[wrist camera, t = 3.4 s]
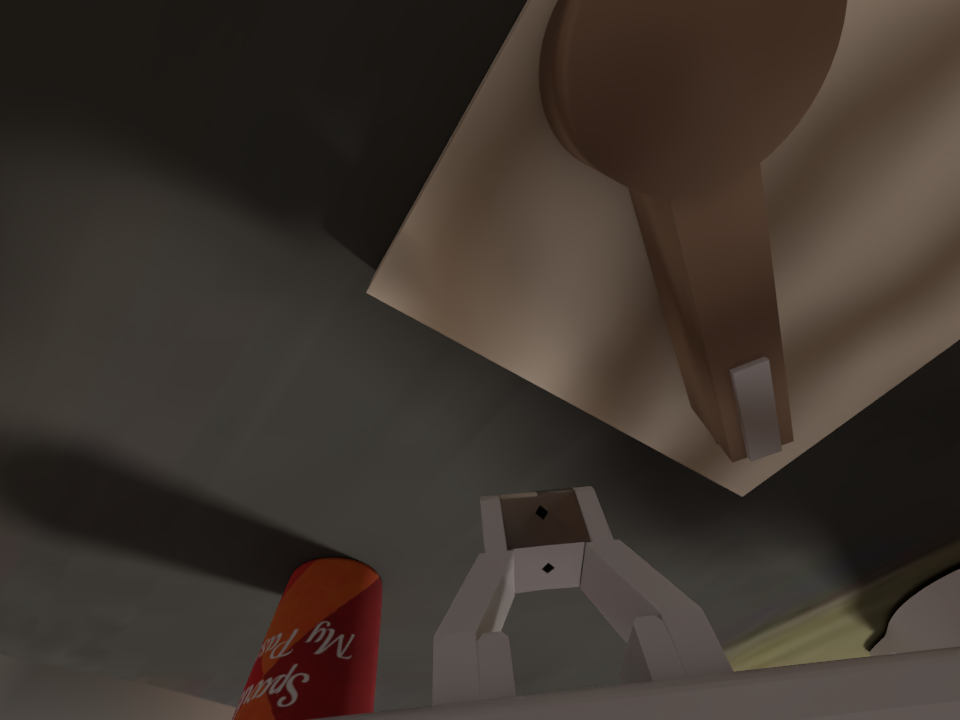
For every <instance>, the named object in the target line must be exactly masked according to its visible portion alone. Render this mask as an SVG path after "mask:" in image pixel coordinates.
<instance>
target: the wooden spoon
mask: <svg viewBox="0 0 960 720" xmlns="http://www.w3.org/2000/svg"><path fill="white" fill-rule="evenodd" d="M846 7H847V0H558V1H557V3H556V5H555V7H554V9H553V11H552V14H551V16H550V19H549V21H548V24H547V27H546V31H545V34H544V38H543V41H542V47H541V53H540V61H539V89H540V95H541V101H542V106H543V109H544V112H545V116H546V118H547V121H548V123H549V125H550V128H551V130H552V131H553V133H554V135H555V136H556V138H557V140H558V141H559V142H560V143H561V145H562V146H563V147H564V148H565V149H566V150H567V151H568V152H569V153H570V154H571V155H572V156H573V157H575V158H576V159H578V160H579V161H581V162H582V163H584V164H586V165H588V166H589V167H591V168H593V169H595V170H597V171H598V172H600V173H602V174H604V175H606V176H608V177H609V178H611V179H613V180H615V181H617V182H618V183H620V184H622V185H624V186H626V187H628V189H629V193H630V196H631V200H632V203H633V207H634V210H635V214H636V217H637V221H638V224H639V228H640V231H641V235H642V238H643V242H644V245H645V248H646V252H647V255H648V259H649V262H650V266H651V269H652V273H653V276H654V280H655V283H656V287H657V290H658V294H659V297H660V301H661V304H662V308H663V311H664V315H665V318H666V322H667V325H668V329H669V332H670V336H671V339H672V343H673V346H674V350H675V353H676V357H677V360H678V364H679V367H680V371H681V374H682V378H683V381H684V385H685V388H686V392H687V395H688V399H689V402H690V406H691V408H692V409H693V411H694V412H695V413H696V415H697V416H698V417H699V419H700V420H701V421H702V423H703V424H704V425H705V427H706V428H707V429H708V431H709V432H710V433H711V435H712V436H713V437H714V439H715V440H716V441H717V443H718V444H719V445H720V447H721V448H722V449H723V451H724V452H725V453H726V455H727V456H728V457H729V459H730V460H731V461H732V463H733V462H736V461H739V460H741V459H744V458H747V457H748V459H749V460H750V461H751V462H752V461H755V460H757V459H760V458H763V457H766V456H769V455H772V454H775V453H778V452H780V451H782V447H781V446H782V445H784V444H787V443H790V442H793V441H794V438H793V430H792V422H791V413H790V405H789V397H788V389H787V380H786V372H785V364H784V356H783V347H782V339H781V331H780V323H779V314H778V306H777V298H776V289H775V281H774V273H773V265H772V256H771V248H770V240H769V232H768V223H767V215H766V207H765V198H764V190H763V182H762V174H761V165H760V163H761V162H762V161H763V160H764V159H765V158H767V157H768V156H769V155H770V154H771V153H772V152H773V151H774V150H775V149H776V148H777V147H778V146H779V145H780V144H781V143H782V142H783V141H784V140H785V139H786V138H787V137H788V136H789V134H790V133H791V132H792V131H793V130H794V128H795V127H796V126H797V125H798V124H799V122H800V121H801V119H802V118H803V116H804V115H805V114H806V112H807V111H808V109H809V108H810V106H811V105H812V103H813V101H814V99H815V98H816V96H817V94H818V92H819V91H820V89H821V87H822V85H823V83H824V81H825V78H826V76H827V74H828V72H829V70H830V68H831V65H832V62H833V59H834V57H835V54H836V51H837V48H838V45H839V41H840V37H841V33H842V29H843V26H844V20H845V14H846Z"/></svg>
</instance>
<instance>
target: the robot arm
mask: <svg viewBox="0 0 960 720" xmlns="http://www.w3.org/2000/svg"><path fill="white" fill-rule="evenodd" d="M480 506H481V519H482V532H483V544H484V553H479V555H478V557H477V559H476V560H475V562H474V564H473V566H472V568H471V570H470V571H469V573H468V575H467V577H466V579H465V580H464V582H463V584H462V586H461V588H460V590H459V591H458V593H457V595H456V597H455V599H454V601H453V602H452V604H451V606H450V608H449V610H448V611H447V613H446V615H445V617H444V619H443V621H442V622H441V624H440V626H439V628H438V630H437V631H436V633H435V635H434V649H433V696H432V706H424V707H415V708H406V709H397V710H389V711H380V712H371V713H362V714H353V715H344V716H335V717H326V718H317V719H309V720H960V569H958V570H956V571H954V572H952V573H950V574H948V575H946V576H944V577H942V578H941V579H939V580H937V581H935V582H933V583H932V584H930V585H929V586H927V587H925V588H924V589H922V590H921V591H919V592H918V593H917V594H915V595H914V596H912V597H911V598H910V599H909V600H908V601H906V602H905V603H904V604H903V605H902V606H901V607H900V608H899V609H898V610H897V611H896V612H895V614H894V615H893V616H892V618H891V620H890V622H889V624H888V628H887V632H886V635H885V636H884V638H883V639H882V640H880V641H879V642H878V643H877V644H876V645H875V646H874V647H873V648H872V650H871V651H870V654H871V656H870V657H861V658H852V659H844V660H835V661H826V662H817V663H808V664H799V665H790V666H781V667H772V668H763V669H754V670H745V671H736V672H733V670H732V668H731V666H730V664H729V662H728V660H727V658H726V656H725V654H724V652H723V650H722V648H721V646H720V644H719V642H718V640H717V638H716V636H715V634H714V632H713V630H712V628H711V626H710V624H709V622H708V620H707V618H706V616H705V614H704V612H703V610H702V608H701V607H699V606H698V605H697V604H696V603H695V602H693V601H692V600H691V599H690V598H689V597H687V596H686V595H685V594H684V593H683V592H681V591H680V590H679V589H678V588H677V587H675V586H674V585H673V584H672V583H671V582H670V581H668V580H667V579H666V578H665V577H664V576H662V575H661V574H660V573H659V572H658V571H656V570H655V569H654V568H653V567H652V566H650V565H649V564H648V563H647V562H646V561H644V560H643V559H642V558H641V557H640V556H638V555H637V554H636V553H635V552H634V551H633V550H631V549H630V548H629V547H628V546H627V545H625V544H624V543H623V542H622V541H621V540H614V539H613V537H612V534H611V532H610V529H609V526H608V524H607V521H606V519H605V516H604V514H603V511H602V508H601V506H600V503H599V501H598V498H597V496H596V493H595V490H594V489H593V488H592V486H587V487H577V488H564V489H554V490H545V491H536V492H532V493H518V494H503V495H492V496H480ZM568 587H580V589H581V590H582V591H583V592H584V594H585V595H586V596H587V597H588V598H589V599H590V601H591V602H592V603H593V604H594V605H595V606H596V608H597V609H598V610H599V611H600V612H601V613H602V615H603V616H604V617H605V618H606V619H607V620H608V622H609V623H610V624H611V625H612V626H613V627H614V629H615V630H616V631H617V632H618V633H619V634H620V636H621V637H622V638H623V639H624V640H625V641H626V643H627V644H628V645H627V648H626V652H625V655H624V659H623V662H622V666H621V670H620V673H619V675H620V678H621V682H622V684H620V685H611V686H602V687H593V688H584V689H575V690H567V691H558V692H549V693H540V694H531V695H522V696H516V692H515V684H514V677H513V669H512V661H511V654H510V646H509V638H508V636H507V635H505V634H504V633H503V632H501V630H502V627H503V624H504V622H505V619H506V617H507V614H508V612H509V609H510V606H511V604H512V601H513V599H514V596H515V593H521V592H529V591H536V590H544V589H555V588H568Z"/></svg>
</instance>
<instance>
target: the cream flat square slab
mask: <svg viewBox="0 0 960 720" xmlns="http://www.w3.org/2000/svg"><path fill="white" fill-rule="evenodd" d="M557 1H558V0H527V2H526V4H525V6H524V7H523V9H522V11H521V13H520V15H519V16H518V18H517V20H516V22H515V23H514V25H513V27H512V29H511V31H510V32H509V34H508V36H507V38H506V40H505V41H504V43H503V45H502V47H501V48H500V50H499V52H498V54H497V56H496V57H495V59H494V61H493V63H492V65H491V66H490V68H489V70H488V72H487V73H486V75H485V77H484V79H483V81H482V82H481V84H480V86H479V88H478V90H477V91H476V93H475V95H474V97H473V98H472V100H471V102H470V104H469V106H468V107H467V109H466V111H465V113H464V115H463V116H462V118H461V120H460V122H459V123H458V125H457V127H456V129H455V131H454V132H453V134H452V136H451V138H450V140H449V141H448V143H447V145H446V147H445V148H444V150H443V152H442V154H441V156H440V157H439V159H438V161H437V163H436V164H435V166H434V168H433V170H432V172H431V173H430V175H429V177H428V179H427V181H426V182H425V184H424V186H423V188H422V189H421V191H420V193H419V195H418V197H417V198H416V200H415V202H414V204H413V206H412V207H411V209H410V211H409V213H408V214H407V216H406V218H405V220H404V222H403V223H402V225H401V227H400V229H399V231H398V232H397V234H396V236H395V238H394V239H393V241H392V243H391V245H390V247H389V248H388V250H387V252H386V254H385V256H384V257H383V259H382V261H381V263H380V264H379V266H378V268H377V270H376V272H375V274H374V276H373V279H372V281H371V283H370V285H369V288H368V290H367V292H366V293H368V294H369V295H371V296H373V297H375V298H377V299H379V300H380V301H382V302H384V303H386V304H388V305H390V306H392V307H393V308H395V309H397V310H399V311H401V312H403V313H404V314H406V315H408V316H410V317H412V318H414V319H415V320H417V321H419V322H421V323H423V324H425V325H427V326H428V327H430V328H432V329H434V330H436V331H438V332H439V333H441V334H443V335H445V336H447V337H449V338H450V339H452V340H454V341H456V342H458V343H460V344H462V345H463V346H465V347H467V348H469V349H471V350H473V351H474V352H476V353H478V354H480V355H482V356H484V357H485V358H487V359H489V360H491V361H493V362H495V363H497V364H498V365H500V366H502V367H504V368H506V369H508V370H509V371H511V372H513V373H515V374H517V375H519V376H520V377H522V378H524V379H526V380H528V381H530V382H532V383H533V384H535V385H537V386H539V387H541V388H543V389H544V390H546V391H548V392H550V393H552V394H554V395H555V396H557V397H559V398H561V399H563V400H565V401H567V402H568V403H570V404H572V405H574V406H576V407H578V408H579V409H581V410H583V411H585V412H587V413H589V414H590V415H592V416H594V417H596V418H598V419H600V420H602V421H603V422H605V423H607V424H609V425H611V426H613V427H614V428H616V429H618V430H620V431H622V432H624V433H625V434H627V435H629V436H631V437H633V438H635V439H637V440H638V441H640V442H642V443H644V444H646V445H648V446H649V447H651V448H653V449H655V450H657V451H659V452H660V453H662V454H664V455H666V456H668V457H670V458H672V459H673V460H675V461H677V462H679V463H681V464H683V465H684V466H686V467H688V468H690V469H692V470H694V471H695V472H697V473H699V474H701V475H703V476H705V477H707V478H708V479H710V480H712V481H714V482H716V483H718V484H719V485H721V486H723V487H725V488H727V489H729V490H730V491H732V492H734V493H736V494H738V495H740V496H742V497H743V496H744V495H746V494H747V493H748V492H750V491H751V490H753V489H754V488H755V487H757V486H758V485H759V484H761V483H762V482H764V481H765V480H766V479H768V478H769V477H771V476H772V475H773V474H775V473H776V472H777V471H779V470H780V469H782V468H783V467H784V466H786V465H787V464H788V463H790V462H791V461H793V460H794V459H795V458H797V457H798V456H800V455H801V454H802V453H804V452H805V451H806V450H808V449H809V448H811V447H812V446H813V445H815V444H816V443H817V442H819V441H820V440H822V439H823V438H824V437H826V436H827V435H829V434H830V433H831V432H833V431H834V430H835V429H837V428H838V427H840V426H841V425H842V424H844V423H845V422H846V421H848V420H849V419H851V418H852V417H853V416H855V415H856V414H858V413H859V412H860V411H862V410H863V409H864V408H866V407H867V406H869V405H870V404H871V403H873V402H874V401H875V400H877V399H878V398H880V397H881V396H882V395H884V394H885V393H887V392H888V391H889V390H891V389H892V388H893V387H895V386H896V385H898V384H899V383H900V382H902V381H903V380H904V379H906V378H907V377H909V376H910V375H911V374H913V373H914V372H916V371H917V370H918V369H920V368H921V367H922V366H924V365H925V364H927V363H928V362H929V361H931V360H932V359H933V358H935V357H936V356H938V355H939V354H940V353H942V352H943V351H945V350H946V349H947V348H949V347H950V346H951V345H953V344H954V343H956V342H957V341H958V340H960V0H847V7H846V14H845V20H844V26H843V29H842V33H841V37H840V41H839V45H838V48H837V51H836V54H835V57H834V59H833V62H832V65H831V68H830V70H829V72H828V74H827V76H826V78H825V81H824V83H823V85H822V87H821V89H820V91H819V92H818V94H817V96H816V98H815V99H814V101H813V103H812V105H811V106H810V108H809V109H808V111H807V112H806V114H805V115H804V116H803V118H802V119H801V121H800V122H799V124H798V125H797V126H796V127H795V128H794V130H793V131H792V132H791V133H790V134H789V136H788V137H787V138H786V139H785V140H784V141H783V142H782V143H781V144H780V145H779V146H778V147H777V148H776V149H775V150H774V151H773V152H772V153H771V154H770V155H769V156H768V157H767V158H765V159H764V160H763V161H762V162H761V163H760V165H761V174H762V182H763V190H764V198H765V207H766V215H767V223H768V232H769V240H770V248H771V256H772V265H773V273H774V281H775V289H776V298H777V306H778V314H779V323H780V331H781V339H782V347H783V356H784V364H785V372H786V380H787V389H788V397H789V405H790V413H791V422H792V430H793V438H794V441H793V442H790V443H787V444H784V445H782V446H781V447H782V451H780V452H778V453H775V454H772V455H769V456H766V457H763V458H760V459H757V460H755V461H752V462H751V461H750V460H749V459H748V457H747V458H744V459H741V460H739V461H736V462H733V463H732V461H731V460H730V459H729V457H728V456H727V455H726V453H725V452H724V451H723V449H722V448H721V447H720V445H719V444H718V443H717V441H716V440H715V439H714V437H713V436H712V435H711V433H710V432H709V431H708V429H707V428H706V427H705V425H704V424H703V423H702V421H701V420H700V419H699V417H698V416H697V415H696V413H695V412H694V411H693V409H692V408H691V406H690V402H689V399H688V395H687V392H686V388H685V385H684V381H683V378H682V374H681V371H680V367H679V364H678V360H677V357H676V353H675V350H674V346H673V343H672V339H671V336H670V332H669V329H668V325H667V322H666V318H665V315H664V311H663V308H662V304H661V301H660V297H659V294H658V290H657V287H656V283H655V280H654V276H653V273H652V269H651V266H650V262H649V259H648V255H647V252H646V248H645V245H644V242H643V238H642V235H641V231H640V228H639V224H638V221H637V217H636V214H635V210H634V207H633V203H632V200H631V196H630V193H629V189H628V187H626V186H624V185H622V184H620V183H618V182H617V181H615V180H613V179H611V178H609V177H608V176H606V175H604V174H602V173H600V172H598V171H597V170H595V169H593V168H591V167H589V166H588V165H586V164H584V163H582V162H581V161H579V160H578V159H576V158H575V157H573V156H572V155H571V154H570V153H569V152H568V151H567V150H566V149H565V148H564V147H563V146H562V145H561V143H560V142H559V141H558V140H557V138H556V136H555V135H554V133H553V131H552V130H551V128H550V125H549V123H548V121H547V118H546V116H545V112H544V109H543V106H542V101H541V95H540V89H539V61H540V53H541V47H542V41H543V38H544V34H545V31H546V27H547V24H548V21H549V19H550V16H551V14H552V11H553V9H554V7H555V5H556V3H557Z"/></svg>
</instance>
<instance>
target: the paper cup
mask: <svg viewBox="0 0 960 720" xmlns="http://www.w3.org/2000/svg"><path fill="white" fill-rule="evenodd" d="M381 605H382V580H381V578H380V576H379V574H378V573H377V572H376V571H375V570H374V569H372V568H371V567H369V566H368V565H366V564H364V563H362V562H359V561H356V560H353V559H348V558H342V557H324V558H318V559H314V560H310V561H308V562H305V563H303V564H302V565H300V566H299V567H298V568H297V569H296V570H295V571H294V572H293V574H292V576H291V578H290V580H289V582H288V584H287V586H286V589H285V591H284V593H283V596H282V598H281V600H280V603H279V605H278V607H277V610H276V612H275V615H274V617H273V620H272V622H271V624H270V627H269V629H268V632H267V634H266V637H265V639H264V642H263V644H262V646H261V649H260V651H259V654H258V656H257V659H256V661H255V664H254V666H253V669H252V671H251V674H250V676H249V679H248V681H247V684H246V686H245V688H244V691H243V693H242V696H241V698H240V701H239V703H238V706H237V708H236V711H235V713H234V716H233V718H232V720H309V719H317V718H326V717H335V716H344V715H353V714H362V713H371V712H373V708H374V696H375V683H376V671H377V659H378V646H379V633H380V621H381Z"/></svg>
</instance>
